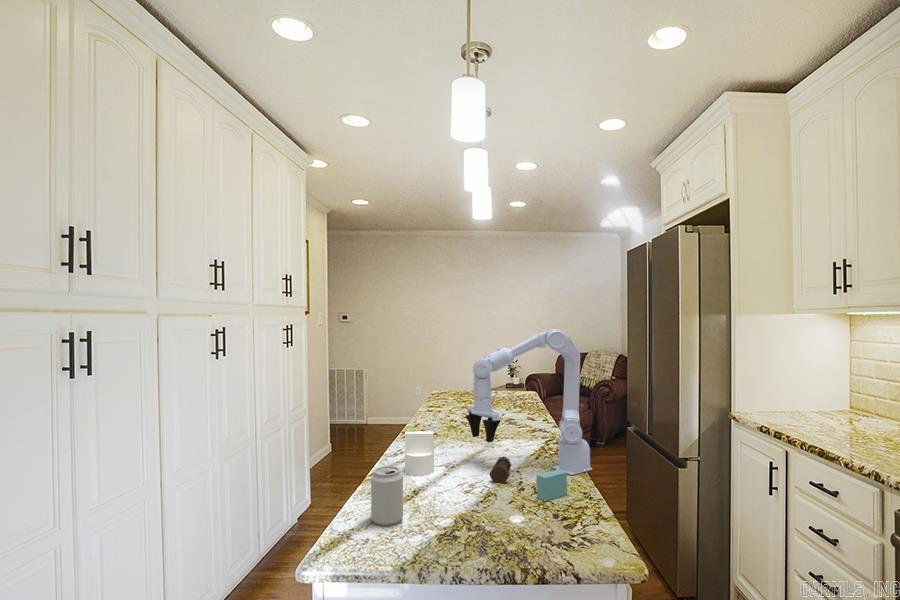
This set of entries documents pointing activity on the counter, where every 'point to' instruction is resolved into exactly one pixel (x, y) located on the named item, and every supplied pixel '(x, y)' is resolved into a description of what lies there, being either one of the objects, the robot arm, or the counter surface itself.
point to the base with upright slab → (419, 453)
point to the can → (387, 495)
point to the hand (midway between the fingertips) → (482, 439)
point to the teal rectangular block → (551, 485)
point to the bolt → (500, 470)
